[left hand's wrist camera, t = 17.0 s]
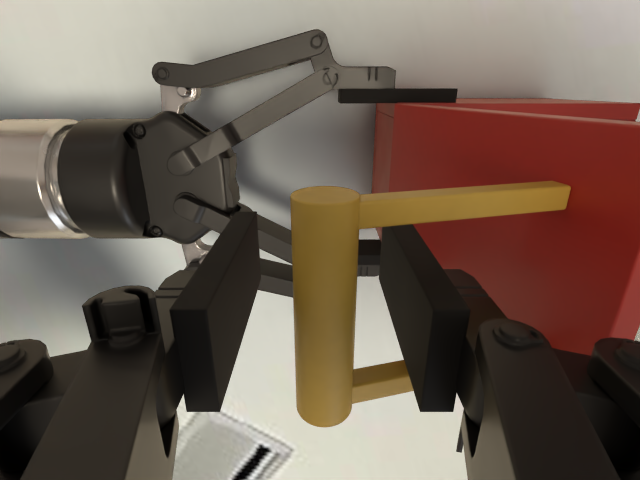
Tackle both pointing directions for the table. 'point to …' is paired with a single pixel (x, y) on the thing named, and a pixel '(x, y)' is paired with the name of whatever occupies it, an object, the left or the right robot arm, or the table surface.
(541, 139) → the lid
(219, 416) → the table surface
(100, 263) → the table surface
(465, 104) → the chest
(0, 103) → the table surface
